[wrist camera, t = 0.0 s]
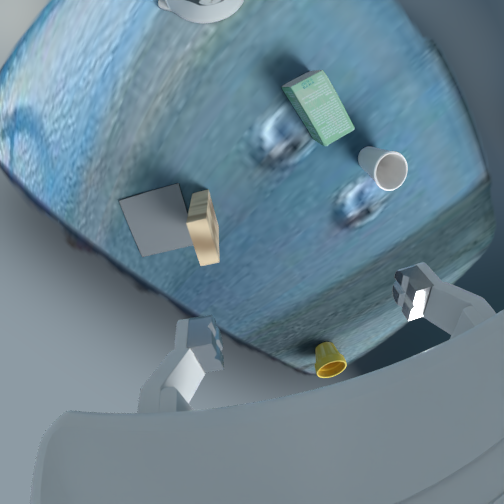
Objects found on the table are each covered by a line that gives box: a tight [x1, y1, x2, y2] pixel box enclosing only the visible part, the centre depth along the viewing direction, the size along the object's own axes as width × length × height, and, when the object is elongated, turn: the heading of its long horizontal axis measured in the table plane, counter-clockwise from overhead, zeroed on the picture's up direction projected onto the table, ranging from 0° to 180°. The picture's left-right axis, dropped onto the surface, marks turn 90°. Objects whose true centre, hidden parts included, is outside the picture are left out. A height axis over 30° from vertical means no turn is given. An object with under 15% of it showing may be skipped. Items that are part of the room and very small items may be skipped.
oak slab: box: [186, 189, 219, 266], centre depth 54 cm, size 9×4×14 cm, turn 10°
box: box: [281, 70, 355, 146], centre depth 47 cm, size 7×14×8 cm, turn 34°
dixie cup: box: [358, 146, 408, 191], centre depth 53 cm, size 8×8×10 cm
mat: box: [119, 183, 193, 257], centre depth 60 cm, size 15×14×1 cm
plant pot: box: [315, 342, 347, 378], centre depth 88 cm, size 10×10×10 cm
